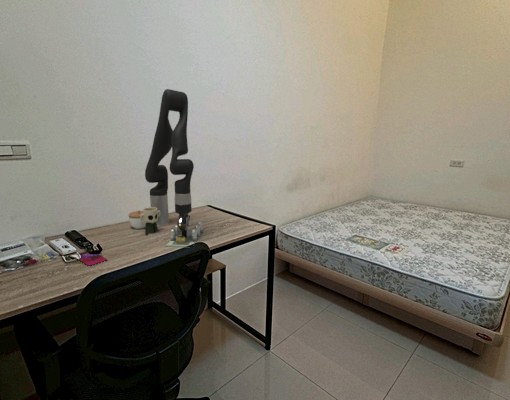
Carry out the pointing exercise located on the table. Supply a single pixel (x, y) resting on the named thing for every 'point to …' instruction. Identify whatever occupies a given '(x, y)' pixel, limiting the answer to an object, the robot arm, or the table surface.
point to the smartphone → (91, 258)
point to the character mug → (150, 219)
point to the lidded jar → (136, 220)
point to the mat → (187, 241)
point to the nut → (180, 239)
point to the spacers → (194, 232)
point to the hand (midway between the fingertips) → (184, 237)
